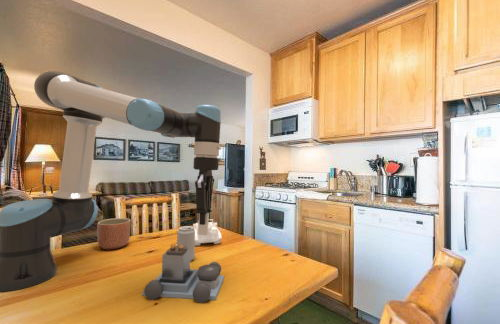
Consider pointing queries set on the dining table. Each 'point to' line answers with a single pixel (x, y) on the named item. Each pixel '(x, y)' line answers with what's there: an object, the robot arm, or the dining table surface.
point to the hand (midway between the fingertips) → (202, 234)
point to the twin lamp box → (176, 264)
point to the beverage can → (187, 239)
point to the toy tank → (212, 234)
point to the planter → (113, 233)
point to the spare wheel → (208, 272)
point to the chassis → (186, 287)
